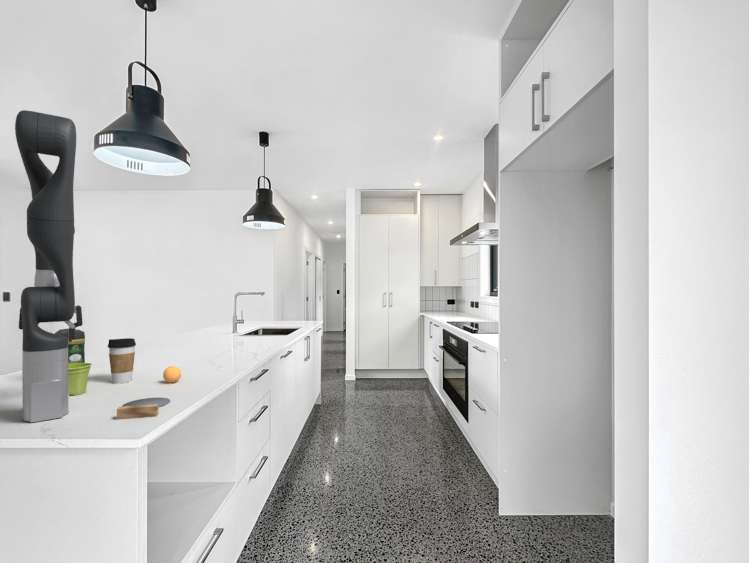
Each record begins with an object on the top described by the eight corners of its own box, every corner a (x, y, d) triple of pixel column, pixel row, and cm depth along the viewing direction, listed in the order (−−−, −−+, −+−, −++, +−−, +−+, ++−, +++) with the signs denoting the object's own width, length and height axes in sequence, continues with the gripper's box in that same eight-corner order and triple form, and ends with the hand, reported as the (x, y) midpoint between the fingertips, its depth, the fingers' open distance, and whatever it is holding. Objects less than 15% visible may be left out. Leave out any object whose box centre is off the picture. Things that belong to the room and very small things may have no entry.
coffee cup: (101, 383, 141) (101, 339, 141) (123, 378, 149) (123, 336, 149) (120, 385, 138) (120, 340, 138) (141, 379, 146) (141, 337, 146)
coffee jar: (51, 382, 143) (50, 328, 144) (77, 378, 150) (77, 326, 150) (61, 386, 138) (61, 330, 138) (88, 381, 144) (88, 328, 144)
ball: (183, 382, 141) (183, 366, 141) (165, 385, 138) (165, 368, 138) (178, 379, 145) (178, 363, 146) (161, 382, 142) (161, 366, 142)
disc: (175, 404, 115) (175, 404, 115) (125, 413, 108) (125, 412, 108) (164, 395, 125) (164, 395, 125) (118, 403, 117) (118, 402, 117)
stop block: (158, 413, 107) (158, 403, 107) (156, 416, 105) (156, 406, 105) (119, 416, 105) (119, 406, 105) (116, 419, 103) (116, 409, 103)
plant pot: (69, 398, 122) (69, 369, 122) (47, 396, 125) (47, 367, 126) (99, 391, 131) (99, 363, 131) (78, 388, 134) (78, 362, 134)
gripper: (18, 286, 110) (18, 347, 110) (83, 286, 119) (83, 342, 120) (18, 285, 116) (18, 343, 116) (80, 285, 125) (80, 338, 125)
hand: (51, 342), depth 118 cm, fingers open, 8 cm apart
